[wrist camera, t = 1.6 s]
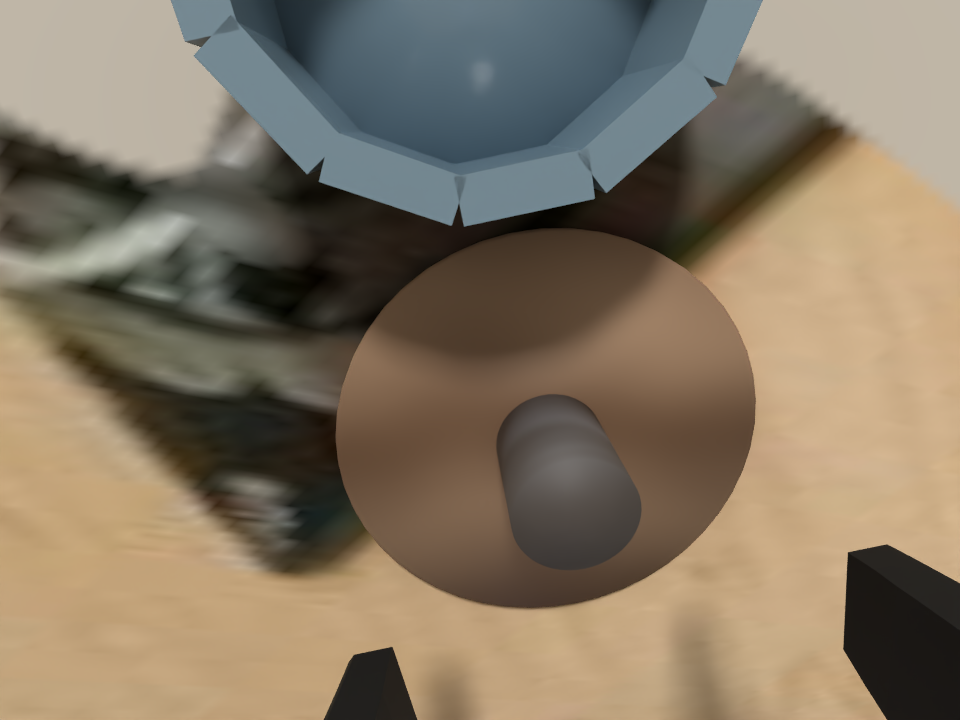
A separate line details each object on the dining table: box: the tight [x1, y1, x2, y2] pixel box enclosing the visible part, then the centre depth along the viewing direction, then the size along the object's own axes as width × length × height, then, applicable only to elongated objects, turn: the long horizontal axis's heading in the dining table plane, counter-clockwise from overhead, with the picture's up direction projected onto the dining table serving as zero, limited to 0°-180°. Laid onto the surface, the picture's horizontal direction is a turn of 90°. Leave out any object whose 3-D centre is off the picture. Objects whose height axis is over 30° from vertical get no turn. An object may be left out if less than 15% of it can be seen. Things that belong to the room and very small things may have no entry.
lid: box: [336, 228, 756, 608], centre depth 14 cm, size 11×11×4 cm
